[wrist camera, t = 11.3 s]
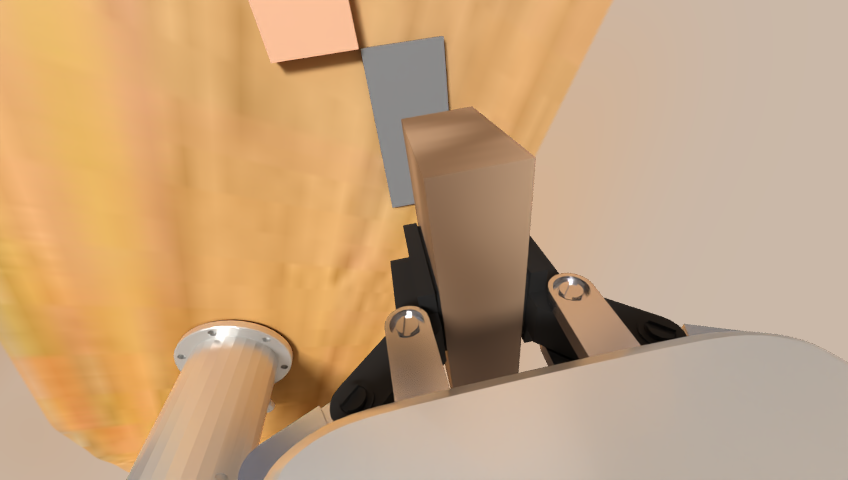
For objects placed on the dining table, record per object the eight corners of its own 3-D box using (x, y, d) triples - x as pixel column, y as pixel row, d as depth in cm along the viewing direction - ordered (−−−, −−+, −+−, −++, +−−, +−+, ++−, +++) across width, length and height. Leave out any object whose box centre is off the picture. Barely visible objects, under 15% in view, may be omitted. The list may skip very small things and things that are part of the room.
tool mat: (453, 193, 31) (454, 196, 30) (392, 204, 31) (392, 207, 30) (441, 36, 23) (443, 36, 23) (360, 48, 23) (360, 49, 22)
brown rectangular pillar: (472, 106, 11) (535, 157, 7) (479, 304, 17) (516, 395, 13) (400, 119, 11) (423, 178, 7) (432, 314, 17) (455, 409, 13)
